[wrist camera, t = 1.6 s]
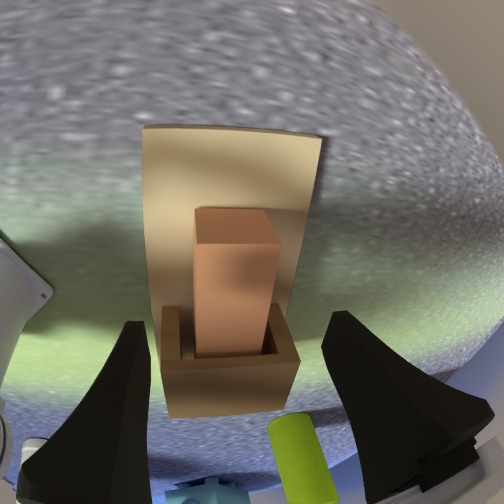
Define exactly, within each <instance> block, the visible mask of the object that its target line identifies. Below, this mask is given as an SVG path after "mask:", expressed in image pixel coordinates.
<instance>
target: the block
mask: <svg viewBox="0 0 504 504" xmlns="http://www.w3.org/2000/svg"><path fill="white" fill-rule="evenodd" d="M280 249H281V242H280V240H279V238H278V236H277V234H276V232H275V231H274V229H273V227H272V225H271V223H270V221H269V219H268V217H267V216H266V214H265V212H264V210H260V209H208V208H195V209H194V249H193V325H194V359H206V358H228V357H244V356H258V355H260V354H261V349H262V344H263V339H264V334H265V329H266V324H267V319H268V314H269V309H270V303H271V298H272V293H273V288H274V282H275V277H276V271H277V266H278V261H279V255H280Z"/></svg>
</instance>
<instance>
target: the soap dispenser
mask: <svg viewBox="0 0 504 504" xmlns="http://www.w3.org/2000/svg"><path fill="white" fill-rule="evenodd" d="M267 429H268V433H269V437H270V441H271V444H272V448H273V452H274V456H275V459H276V463H277V467H278V470H279V474H280V478H281V481H282V485H283V489H284V492H285V496H286V499H287V503H288V504H337V503H338V502H339V501H340V499H339V496H338V494H337V491H336V488H335V485H334V483H333V480H332V477H331V474H330V471H329V468H328V465H327V463H326V460H325V457H324V454H323V451H322V449H321V446H320V443H319V440H318V437H317V435H316V432H315V429H314V426H313V423H312V420H311V418H310V415H309V414H307V413H291V414H287V415H284V416H281V417H279V418H277V419H275V420H273V421H272V422H271V423H270V424H269V425H268V427H267Z"/></svg>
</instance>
